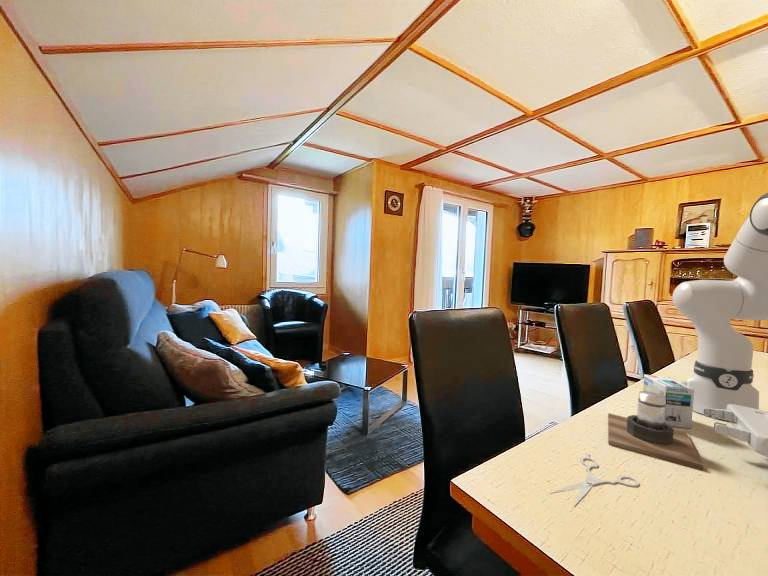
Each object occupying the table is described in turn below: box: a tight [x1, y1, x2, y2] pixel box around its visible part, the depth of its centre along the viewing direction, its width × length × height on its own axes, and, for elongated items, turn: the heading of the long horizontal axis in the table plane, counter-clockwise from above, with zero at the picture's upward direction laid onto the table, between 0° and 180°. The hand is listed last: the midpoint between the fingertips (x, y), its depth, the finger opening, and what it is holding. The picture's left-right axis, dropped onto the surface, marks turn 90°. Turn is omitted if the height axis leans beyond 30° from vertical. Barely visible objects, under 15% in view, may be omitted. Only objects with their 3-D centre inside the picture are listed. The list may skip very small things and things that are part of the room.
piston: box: [636, 390, 666, 430], centre depth 78 cm, size 5×5×10 cm
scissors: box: [551, 452, 640, 507], centre depth 62 cm, size 11×1×20 cm
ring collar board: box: [607, 412, 704, 471], centre depth 79 cm, size 18×16×4 cm
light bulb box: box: [642, 374, 694, 429], centre depth 91 cm, size 11×7×11 cm, turn 168°
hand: (709, 419), depth 73 cm, fingers open, 8 cm apart
